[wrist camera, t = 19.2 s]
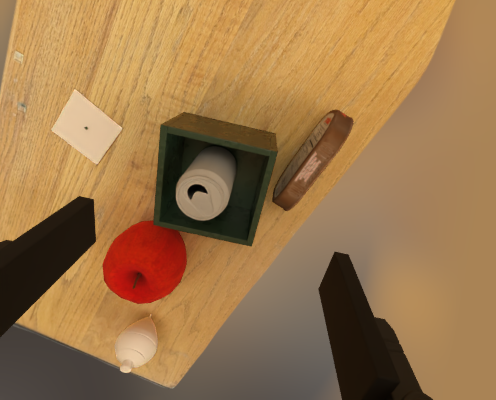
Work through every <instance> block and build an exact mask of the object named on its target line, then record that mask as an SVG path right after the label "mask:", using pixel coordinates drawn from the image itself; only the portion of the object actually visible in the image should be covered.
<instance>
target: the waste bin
mask: <svg viewBox="0 0 496 400" xmlns="http://www.w3.org/2000/svg"><path fill="white" fill-rule="evenodd" d="M212 146H217V147H222V148H224V149H226V150H228V151H229V152H230V153H231V154H232V155H233V156H234V158H235V160H236V163H237V173H236V177H235V180H234V184H233V187H232V191H231V194H230V198H229V201H228V204H227V206H226V208H225V209H224V210H223V211H222V212H221V213H220V214H219V215H217V216H216V217H214V218H212V219H209V220H196V219H193V218H191V217H189V216H187V215H186V214H184V213H183V212H182V211H181V209H180V208H179V206H178V204H177V201H176V186H177V183H178V181H179V179H180V178H181V176H182V175H183V174H184V173H185V171H186V170H187V169H188V167H189V166H190V165H191V163H192V162H193V161H194V160H195V158H196V157H197V156H198V154H199V153H200V152H201V151H202V150H204V149H205V148H208V147H212ZM277 153H278V151H277V143H276V135H275V133H271V132H266V131H262V130H258V129H254V128H249V127H245V126H241V125H237V124H232V123H228V122H224V121H220V120H215V119H211V118H207V117H203V116H199V115H194V114H190V113H186V112H183V113H182V114H180V115H178V116H176V117H174V118H172V119H170V120H169V121H167V122H165V123H163V124H161V127H160V141H159V154H158V168H157V181H156V195H155V208H154V222H153V225H156V226H160V227H165V228H169V229H174V230H178V231H183V232H187V233H192V234H197V235H201V236H206V237H210V238H215V239H219V240H224V241H229V242H233V243H238V244H242V245H247V246H252V244H253V240H254V236H255V233H256V229H257V225H258V222H259V218H260V214H261V211H262V207H263V204H264V200H265V196H266V193H267V189H268V185H269V182H270V178H271V174H272V171H273V167H274V164H275V160H276V156H277Z"/></svg>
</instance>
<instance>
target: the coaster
mask: <svg viewBox="0 0 496 400" xmlns="http://www.w3.org/2000/svg"><path fill="white" fill-rule="evenodd" d="M122 129H123V128H122V127H121V126H119V125H118V124H117V123H116V122H114V121H113V120H112V119H111V118H110V117H108V116H107V115H106V114H105V113H104V112H102V111H101V110H100V109H99V108H97V107H96V106H95V105H94V104H93V103H91V102H90V101H89V100H88V99H87V98H85V97H84V96H83V95H82V94H80V93H79V92H78V91H77V90H76V89H75V90H74V91H73V93H72V95H71V96H70V98H69V100H68V102H67V103H66V105H65V107H64V109H63V110H62V112H61V114H60V116H59V117H58V119H57V121H56V123H55V124H54V126H53V128H52V131H53V132H54V133H55V134H57V135H58V136H59V137H61V138H62V139H63V140H65V141H66V142H67V143H69V144H70V145H71V146H73V147H74V148H75V149H76V150H78V151H79V152H80V153H82V154H83V155H84V156H86V157H87V158H88V159H90V160H91V161H92V162H94V163H95V164H96V165H97V164H98V163H99V161H100V160H101V159H102V157H103V156H104V154H105V153H106V151H107V150H108V149H109V147H110V146H111V144H112V143H113V142H114V140H115V139H116V137H117V136H118V134H119V133H120V132H121V130H122Z"/></svg>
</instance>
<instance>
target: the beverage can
mask: <svg viewBox="0 0 496 400" xmlns="http://www.w3.org/2000/svg"><path fill="white" fill-rule="evenodd" d="M236 173H237V163H236V160H235V158H234V156H233V155H232V154H231V153H230V152H229V151H228V150H226V149H224V148H222V147H217V146H212V147H208V148H205V149H204V150H202V151H201V152H200V153H199V154H198V156H197V157H196V158H195V160H194V161H193V162H192V163H191V165H190V166H189V167H188V169H187V170H186V171H185V173H184V174H183V175H182V176H181V178H180V179H179V181H178V183H177V186H176V201H177V204H178V206H179V208H180V209H181V211H182V212H183V213H184V214H186V215H187V216H189V217H191V218H193V219H196V220H209V219H212V218H214V217H216V216H217V215H219V214H220V213H221V212H222V211H223V210H224V209H225V208H226V206H227V204H228V201H229V198H230V194H231V191H232V187H233V184H234V180H235V177H236Z"/></svg>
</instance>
